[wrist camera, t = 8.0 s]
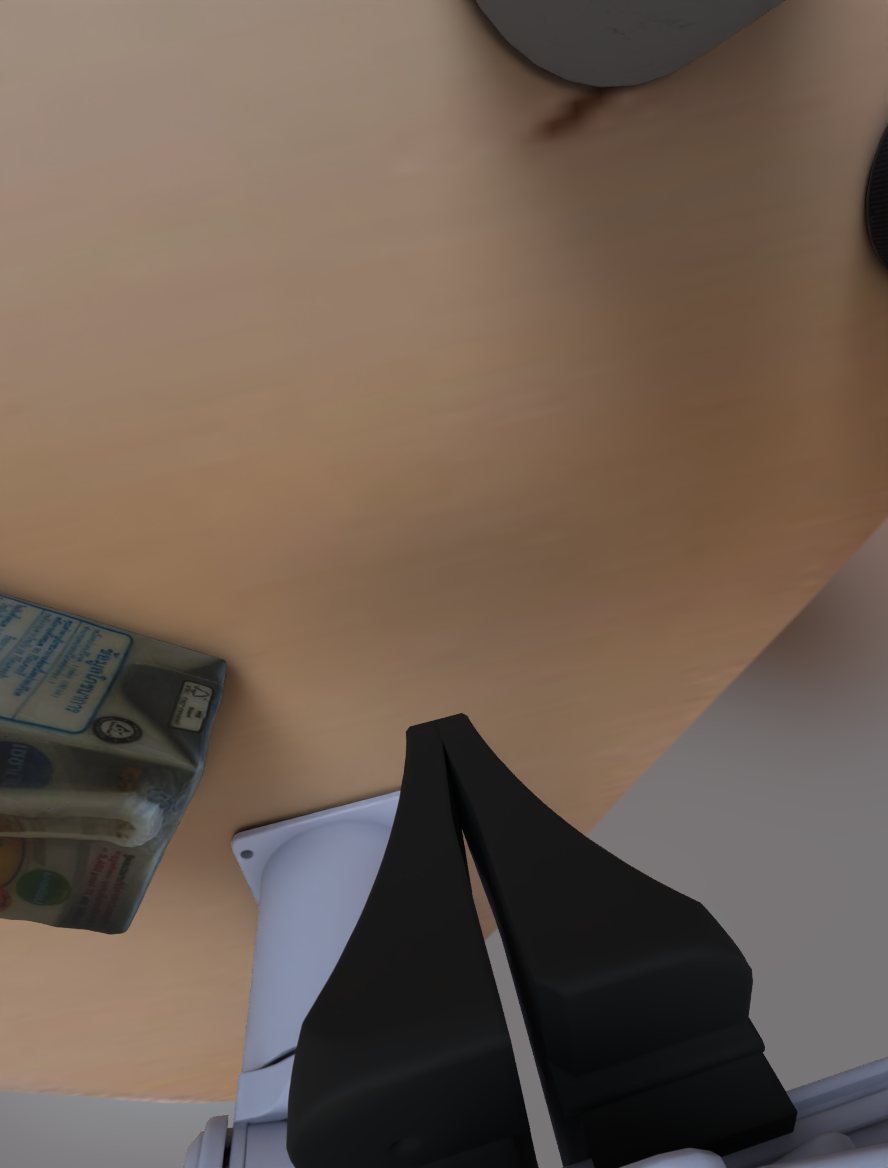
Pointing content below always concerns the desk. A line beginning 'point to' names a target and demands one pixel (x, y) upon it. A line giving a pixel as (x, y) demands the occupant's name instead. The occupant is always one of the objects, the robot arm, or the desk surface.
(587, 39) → the water bottle
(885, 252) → the camera lens
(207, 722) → the beverage carton
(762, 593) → the desk surface
